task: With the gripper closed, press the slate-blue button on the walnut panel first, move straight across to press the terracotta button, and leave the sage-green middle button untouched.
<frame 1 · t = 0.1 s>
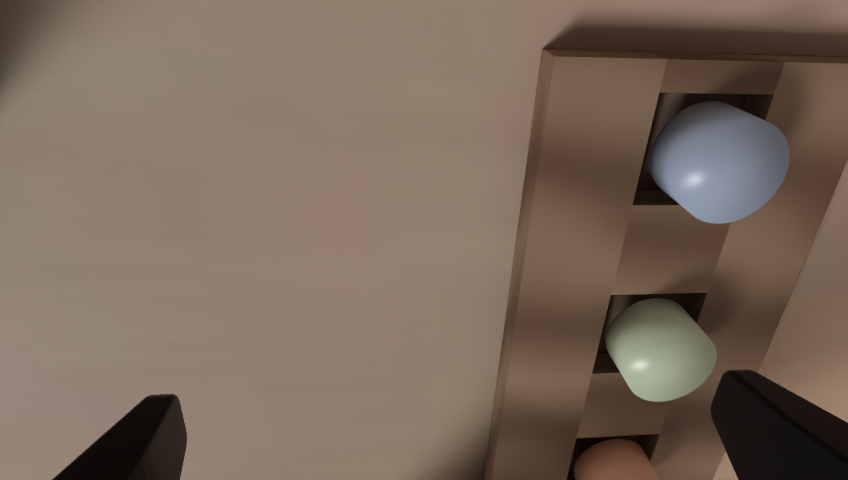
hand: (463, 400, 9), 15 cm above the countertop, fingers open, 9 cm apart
slate button: (716, 162, 21), point 3 cm above the countertop, slide at 0.0 cm
button panel: (634, 315, 28), on the countertop
sage button: (658, 349, 25), point 3 cm above the countertop, slide at 0.0 cm
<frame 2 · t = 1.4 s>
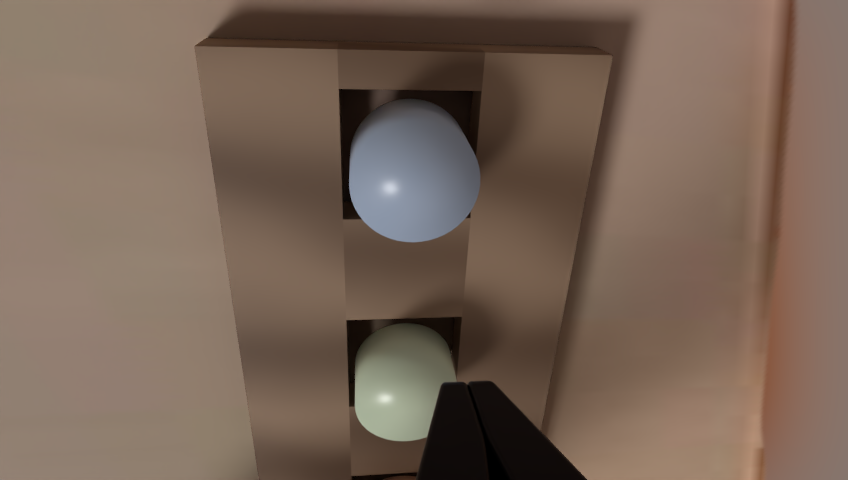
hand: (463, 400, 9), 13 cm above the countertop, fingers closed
slate button: (412, 170, 18), point 3 cm above the countertop, slide at 0.0 cm
button panel: (401, 340, 25), on the countertop
sage button: (405, 381, 22), point 3 cm above the countertop, slide at 0.0 cm
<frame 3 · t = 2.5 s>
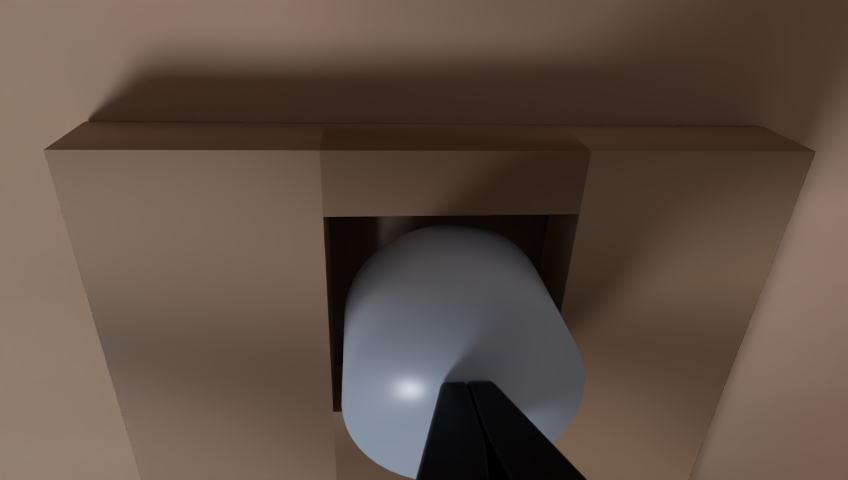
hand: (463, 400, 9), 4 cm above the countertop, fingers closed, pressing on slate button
slate button: (454, 351, 10), point 2 cm above the countertop, slide at 0.2 cm, touching gripper
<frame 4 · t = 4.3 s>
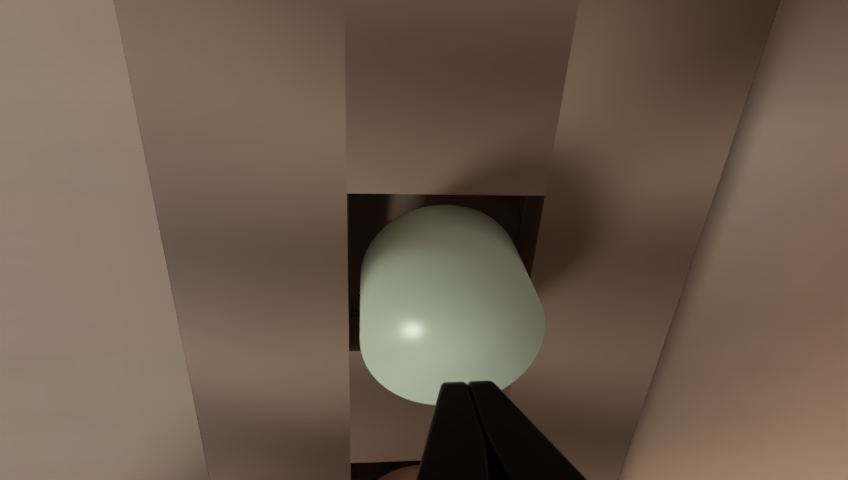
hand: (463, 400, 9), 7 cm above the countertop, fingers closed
button panel: (434, 248, 15), on the countertop
sage button: (446, 304, 13), point 3 cm above the countertop, slide at 0.0 cm
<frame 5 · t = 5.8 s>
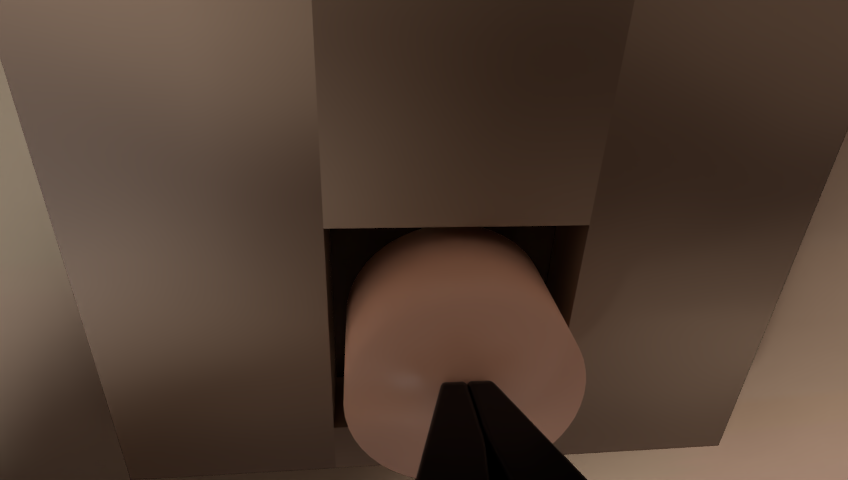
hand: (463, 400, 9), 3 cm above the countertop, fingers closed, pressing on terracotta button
terracotta button: (455, 351, 10), point 2 cm above the countertop, slide at 0.6 cm, touching gripper
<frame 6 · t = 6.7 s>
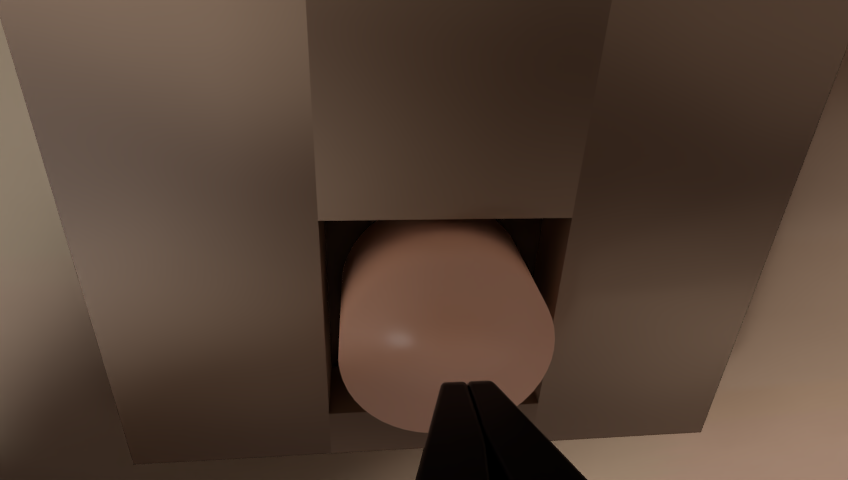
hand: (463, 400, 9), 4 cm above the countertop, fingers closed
terracotta button: (439, 316, 11), point 1 cm above the countertop, slide at 1.3 cm
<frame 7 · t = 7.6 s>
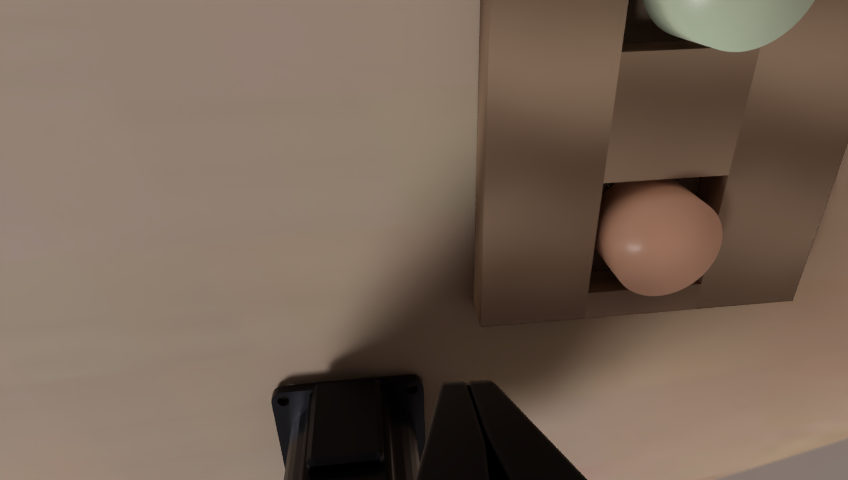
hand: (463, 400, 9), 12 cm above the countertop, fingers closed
terracotta button: (652, 233, 21), point 1 cm above the countertop, slide at 1.3 cm
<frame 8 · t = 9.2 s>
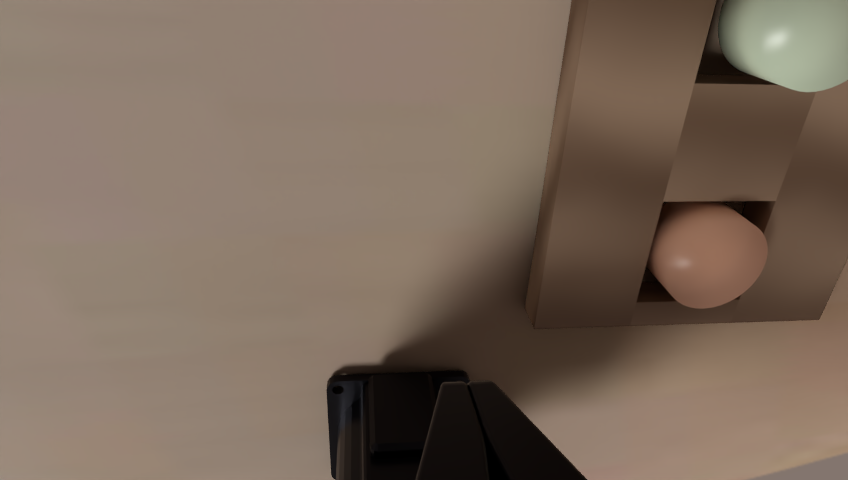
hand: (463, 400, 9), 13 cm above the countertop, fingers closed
button panel: (751, 7, 20), on the countertop
sage button: (803, 17, 17), point 3 cm above the countertop, slide at 0.0 cm
terracotta button: (700, 250, 23), point 1 cm above the countertop, slide at 1.3 cm
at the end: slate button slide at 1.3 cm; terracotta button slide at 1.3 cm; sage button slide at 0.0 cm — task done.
